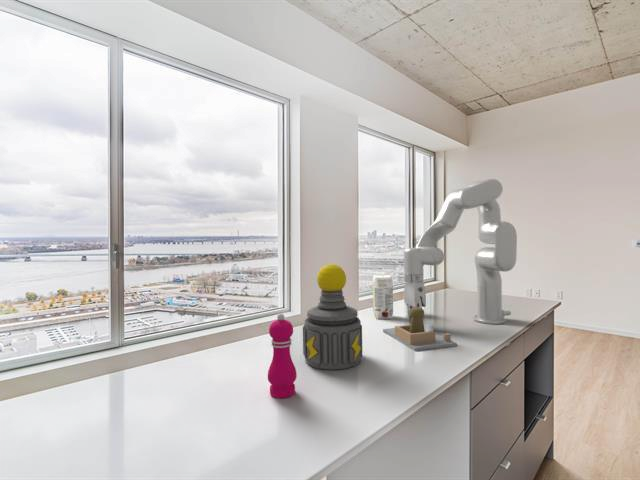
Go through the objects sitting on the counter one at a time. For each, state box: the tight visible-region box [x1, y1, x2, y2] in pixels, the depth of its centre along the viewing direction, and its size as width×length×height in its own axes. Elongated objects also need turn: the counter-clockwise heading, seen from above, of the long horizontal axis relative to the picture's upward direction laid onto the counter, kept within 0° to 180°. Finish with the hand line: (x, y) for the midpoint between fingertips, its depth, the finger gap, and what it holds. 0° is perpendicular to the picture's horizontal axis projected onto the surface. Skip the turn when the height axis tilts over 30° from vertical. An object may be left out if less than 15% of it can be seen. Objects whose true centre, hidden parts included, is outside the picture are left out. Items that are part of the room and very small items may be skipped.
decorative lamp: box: [302, 263, 363, 371], centre depth 113 cm, size 19×19×30 cm
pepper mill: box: [267, 313, 297, 399], centre depth 91 cm, size 7×7×20 cm
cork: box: [409, 307, 425, 333], centre depth 131 cm, size 6×6×11 cm
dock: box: [382, 324, 457, 352], centre depth 134 cm, size 16×24×4 cm, turn 16°
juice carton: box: [372, 274, 394, 320], centre depth 166 cm, size 8×9×19 cm
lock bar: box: [423, 320, 434, 332], centre depth 142 cm, size 2×10×4 cm, turn 15°
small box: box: [403, 301, 418, 318], centre depth 169 cm, size 8×6×10 cm
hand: (414, 322), depth 149 cm, fingers closed
